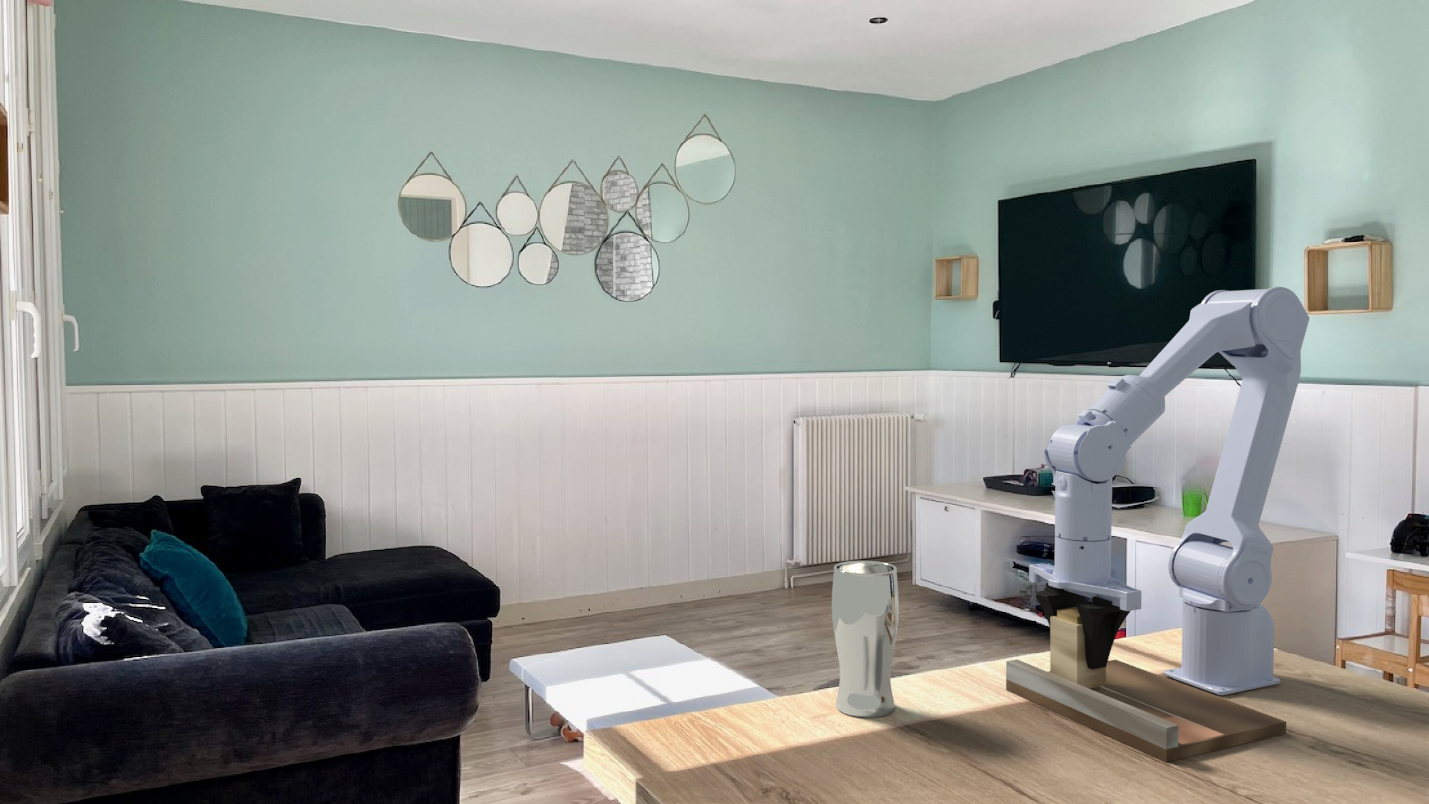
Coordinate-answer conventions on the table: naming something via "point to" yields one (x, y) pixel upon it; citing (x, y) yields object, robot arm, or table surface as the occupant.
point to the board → (1146, 710)
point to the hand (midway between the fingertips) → (1081, 661)
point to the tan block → (1071, 650)
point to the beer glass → (865, 635)
